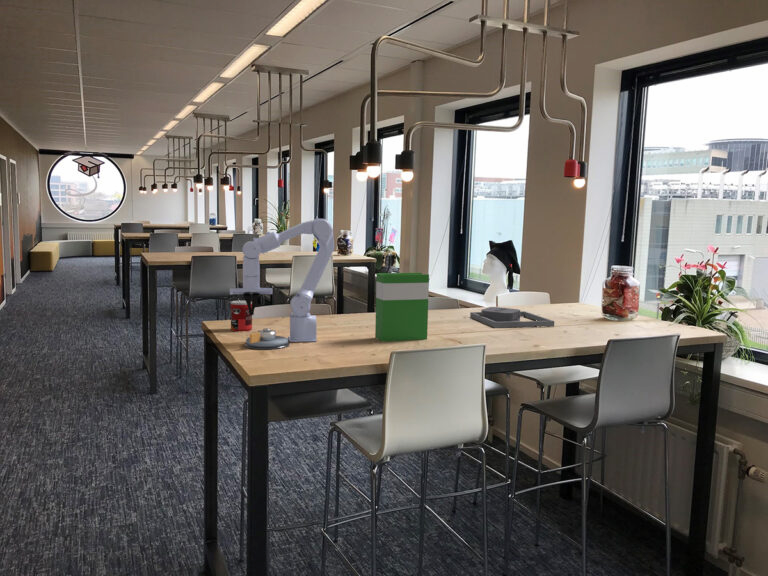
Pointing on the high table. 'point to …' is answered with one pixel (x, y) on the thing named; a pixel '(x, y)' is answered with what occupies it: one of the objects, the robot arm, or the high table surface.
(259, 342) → the turntable
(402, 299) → the green cereal box
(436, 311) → the high table surface
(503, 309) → the streaming box
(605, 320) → the high table surface
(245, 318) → the canned food
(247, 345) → the turntable base
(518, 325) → the black tray rim
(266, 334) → the cover
